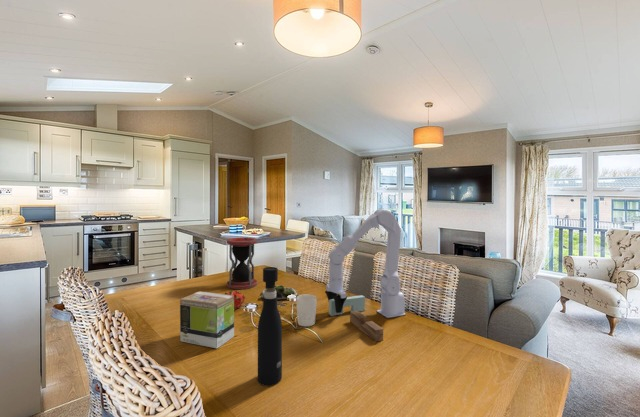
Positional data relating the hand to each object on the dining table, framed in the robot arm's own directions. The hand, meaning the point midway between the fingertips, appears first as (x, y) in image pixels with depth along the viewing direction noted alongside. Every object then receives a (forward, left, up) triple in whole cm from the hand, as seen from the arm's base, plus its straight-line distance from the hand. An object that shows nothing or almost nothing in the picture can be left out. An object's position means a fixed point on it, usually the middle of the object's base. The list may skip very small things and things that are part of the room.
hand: (335, 309), depth 128 cm
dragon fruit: (+38, -22, -2) cm, 44 cm away
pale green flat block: (-6, 0, -2) cm, 6 cm away
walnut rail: (-4, +18, -2) cm, 18 cm away
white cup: (+14, +4, -2) cm, 15 cm away
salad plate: (+16, -31, -2) cm, 35 cm away
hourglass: (+30, -55, -2) cm, 62 cm away
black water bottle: (+36, +34, -2) cm, 50 cm away
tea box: (+50, +4, -2) cm, 51 cm away
